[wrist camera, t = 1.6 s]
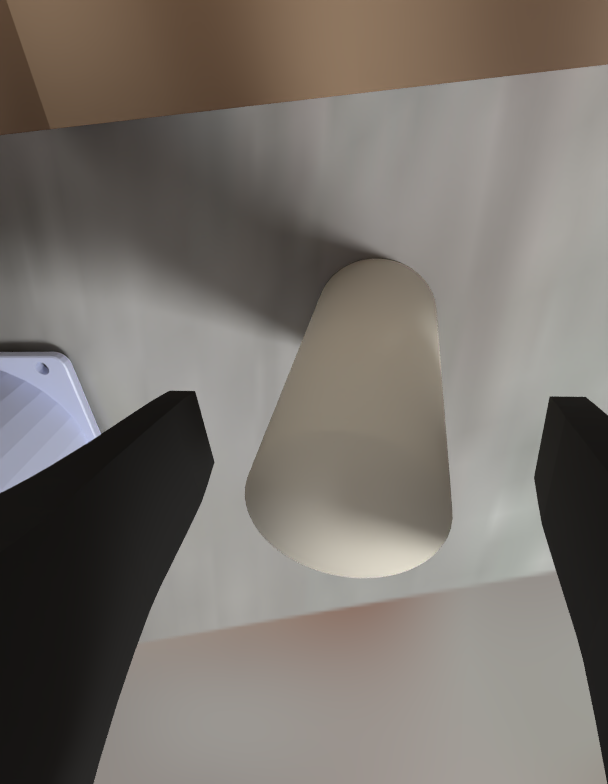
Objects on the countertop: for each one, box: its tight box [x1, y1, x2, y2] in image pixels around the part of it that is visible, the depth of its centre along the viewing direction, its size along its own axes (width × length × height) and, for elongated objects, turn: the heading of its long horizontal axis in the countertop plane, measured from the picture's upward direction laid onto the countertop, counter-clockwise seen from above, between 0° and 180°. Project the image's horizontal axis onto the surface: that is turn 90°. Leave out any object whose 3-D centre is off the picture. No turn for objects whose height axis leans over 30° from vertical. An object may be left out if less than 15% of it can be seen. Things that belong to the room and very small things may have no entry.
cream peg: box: [245, 259, 452, 578], centre depth 12 cm, size 4×4×8 cm
